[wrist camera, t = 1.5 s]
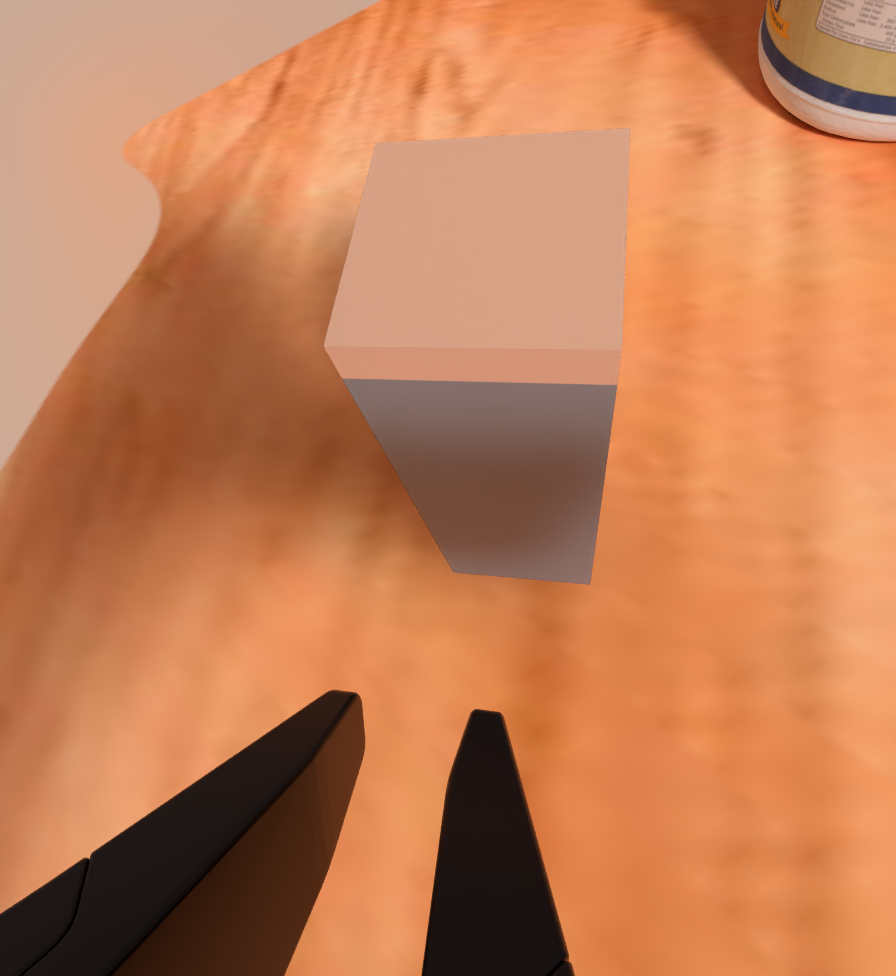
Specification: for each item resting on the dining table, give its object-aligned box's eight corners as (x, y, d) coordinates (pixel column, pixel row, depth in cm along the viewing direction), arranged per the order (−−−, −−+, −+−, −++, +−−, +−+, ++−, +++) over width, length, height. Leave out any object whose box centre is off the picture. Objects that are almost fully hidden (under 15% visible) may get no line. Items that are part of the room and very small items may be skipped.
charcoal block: (589, 584, 22) (621, 350, 10) (453, 572, 23) (323, 346, 11) (596, 459, 24) (630, 127, 12) (470, 453, 25) (375, 142, 13)
